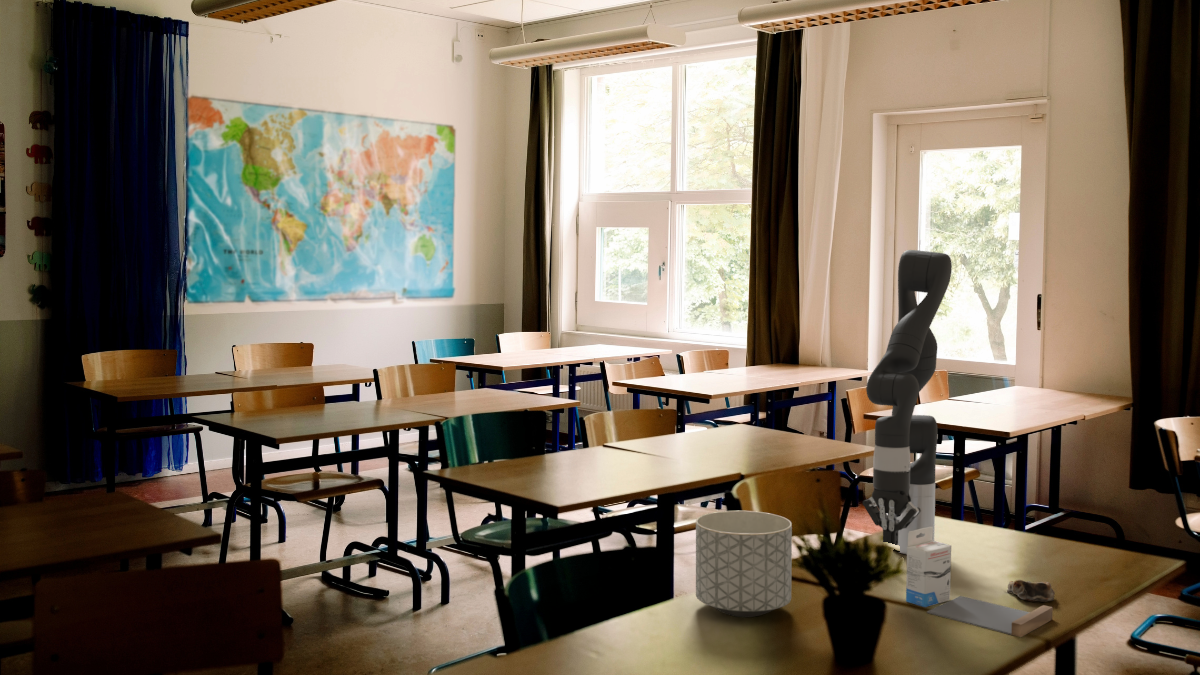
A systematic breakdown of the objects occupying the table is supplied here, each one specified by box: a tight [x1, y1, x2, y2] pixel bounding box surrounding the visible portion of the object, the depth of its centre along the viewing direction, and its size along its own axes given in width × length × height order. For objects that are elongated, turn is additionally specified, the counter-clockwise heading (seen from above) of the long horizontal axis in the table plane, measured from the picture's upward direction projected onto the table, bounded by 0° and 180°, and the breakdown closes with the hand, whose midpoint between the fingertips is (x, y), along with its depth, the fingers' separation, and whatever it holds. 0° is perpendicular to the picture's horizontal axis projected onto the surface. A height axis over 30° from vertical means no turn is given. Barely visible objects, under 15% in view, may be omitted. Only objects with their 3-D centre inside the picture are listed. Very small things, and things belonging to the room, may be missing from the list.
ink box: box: [905, 526, 952, 608], centre depth 208 cm, size 8×5×15 cm, turn 125°
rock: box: [1006, 579, 1056, 603], centre depth 210 cm, size 9×6×10 cm
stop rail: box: [1010, 604, 1054, 638], centre depth 193 cm, size 2×14×2 cm, turn 134°
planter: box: [695, 510, 793, 618], centre depth 202 cm, size 19×19×18 cm
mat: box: [926, 595, 1031, 636], centre depth 200 cm, size 17×14×1 cm
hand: (890, 547), depth 214 cm, fingers closed
